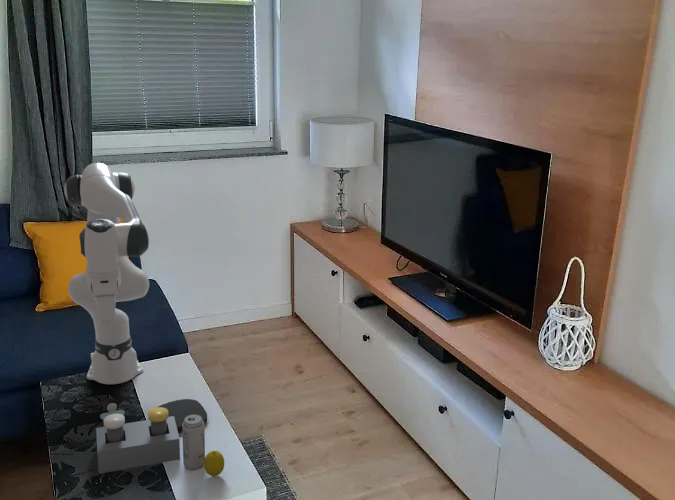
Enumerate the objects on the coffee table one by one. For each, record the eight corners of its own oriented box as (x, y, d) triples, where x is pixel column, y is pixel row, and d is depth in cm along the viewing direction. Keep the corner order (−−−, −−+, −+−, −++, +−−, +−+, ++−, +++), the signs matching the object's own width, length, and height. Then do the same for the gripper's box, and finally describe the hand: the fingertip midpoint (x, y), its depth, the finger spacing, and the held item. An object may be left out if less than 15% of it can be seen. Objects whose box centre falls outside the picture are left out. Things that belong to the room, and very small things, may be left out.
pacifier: (98, 416, 208) (101, 426, 204) (97, 399, 207) (100, 408, 202) (122, 411, 212) (126, 420, 207) (121, 394, 210) (125, 402, 205)
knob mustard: (148, 442, 194) (147, 408, 191) (168, 439, 196) (167, 406, 193) (150, 453, 189) (149, 419, 186) (170, 450, 191) (169, 416, 188)
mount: (97, 448, 193) (96, 427, 190) (174, 436, 200) (173, 416, 198) (98, 473, 182) (97, 452, 180) (180, 459, 190) (179, 438, 187)
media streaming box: (211, 424, 207) (211, 416, 206) (165, 437, 200) (165, 429, 199) (194, 402, 219) (194, 394, 218) (150, 414, 211) (150, 406, 211)
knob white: (105, 449, 190) (103, 415, 187) (126, 446, 192) (124, 412, 189) (106, 461, 185) (104, 426, 182) (127, 457, 187) (125, 423, 184)
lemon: (205, 469, 186) (204, 445, 183) (225, 469, 186) (225, 445, 184) (203, 482, 181) (202, 457, 178) (223, 482, 181) (223, 457, 179)
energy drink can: (205, 470, 186) (204, 424, 181) (183, 472, 184) (181, 425, 180) (205, 457, 191) (204, 412, 186) (183, 458, 190) (182, 413, 185)
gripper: (91, 266, 191) (94, 310, 195) (92, 292, 173) (96, 340, 177) (114, 264, 193) (116, 308, 197) (117, 290, 175) (120, 337, 179)
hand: (107, 323), depth 187 cm, fingers closed
